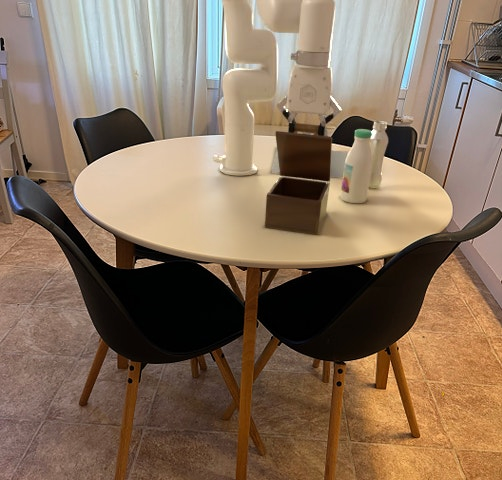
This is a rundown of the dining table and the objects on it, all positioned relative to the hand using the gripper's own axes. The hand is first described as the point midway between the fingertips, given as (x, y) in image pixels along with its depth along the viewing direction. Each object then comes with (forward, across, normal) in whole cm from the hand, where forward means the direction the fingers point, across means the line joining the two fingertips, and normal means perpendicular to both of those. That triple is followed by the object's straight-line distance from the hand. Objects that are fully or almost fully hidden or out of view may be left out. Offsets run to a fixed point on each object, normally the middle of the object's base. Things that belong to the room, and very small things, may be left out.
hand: (305, 139), depth 119 cm
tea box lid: (+5, 0, 0) cm, 5 cm away
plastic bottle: (+21, +17, +34) cm, 43 cm away
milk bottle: (+21, +13, +20) cm, 31 cm away
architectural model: (+20, -5, +54) cm, 58 cm away
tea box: (+20, 0, -2) cm, 21 cm away
